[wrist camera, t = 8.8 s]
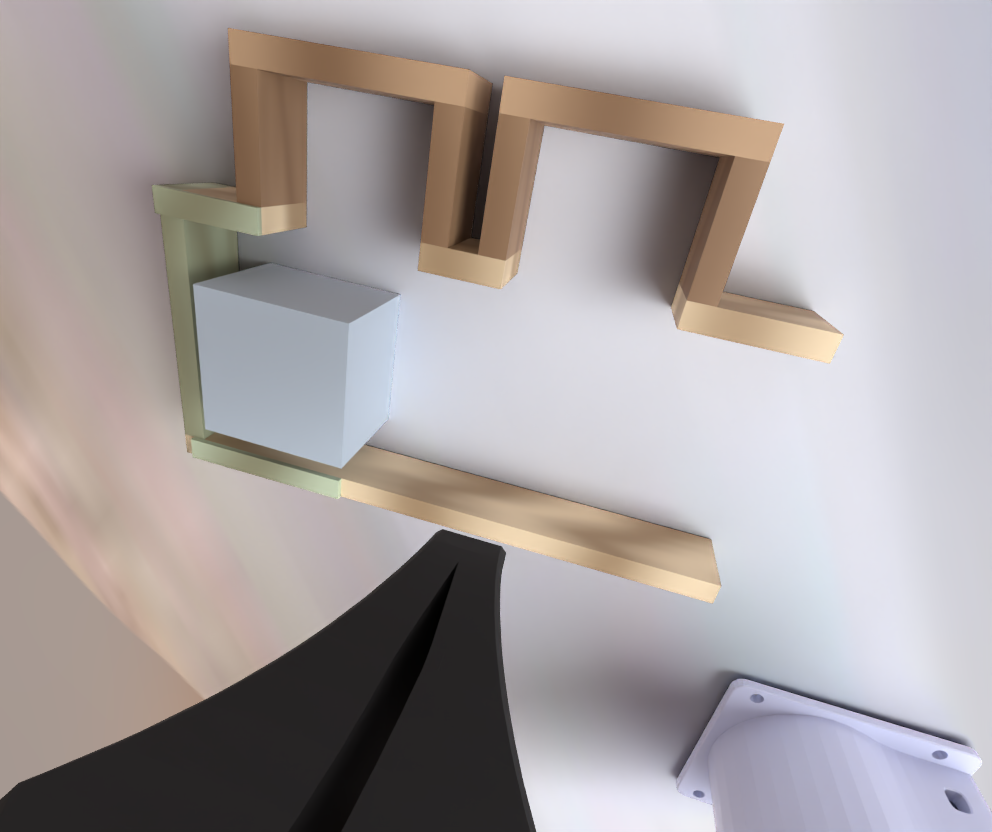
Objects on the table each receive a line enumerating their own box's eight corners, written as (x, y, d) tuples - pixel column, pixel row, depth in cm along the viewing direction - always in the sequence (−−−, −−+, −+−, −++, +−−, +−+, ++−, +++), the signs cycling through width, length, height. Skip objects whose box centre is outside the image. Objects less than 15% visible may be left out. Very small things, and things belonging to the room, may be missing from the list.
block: (402, 293, 19) (349, 323, 15) (390, 417, 21) (341, 468, 17) (272, 262, 19) (192, 284, 16) (274, 385, 22) (205, 429, 18)
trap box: (886, 152, 14) (938, 149, 12) (703, 555, 20) (713, 608, 18) (203, 32, 16) (131, 10, 14) (230, 424, 23) (183, 454, 20)
